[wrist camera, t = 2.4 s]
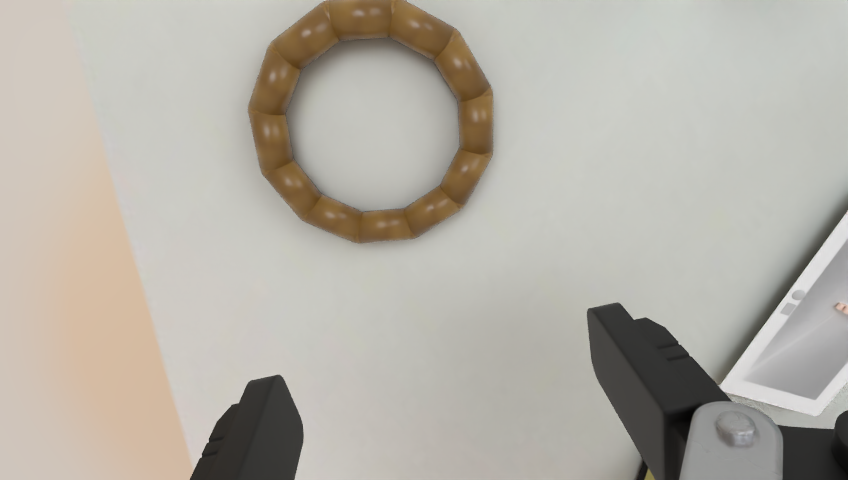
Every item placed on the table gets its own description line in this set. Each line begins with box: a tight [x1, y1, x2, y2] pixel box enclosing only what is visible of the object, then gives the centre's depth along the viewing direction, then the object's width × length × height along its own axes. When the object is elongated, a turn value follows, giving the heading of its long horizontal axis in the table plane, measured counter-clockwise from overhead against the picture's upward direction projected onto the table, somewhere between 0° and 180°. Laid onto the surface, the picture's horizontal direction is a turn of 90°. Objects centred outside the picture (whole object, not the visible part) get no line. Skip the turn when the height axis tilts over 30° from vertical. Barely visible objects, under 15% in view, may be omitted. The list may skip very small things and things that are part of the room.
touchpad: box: [719, 211, 848, 417], centre depth 27 cm, size 8×15×2 cm, turn 161°
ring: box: [248, 0, 493, 243], centre depth 22 cm, size 11×11×2 cm
